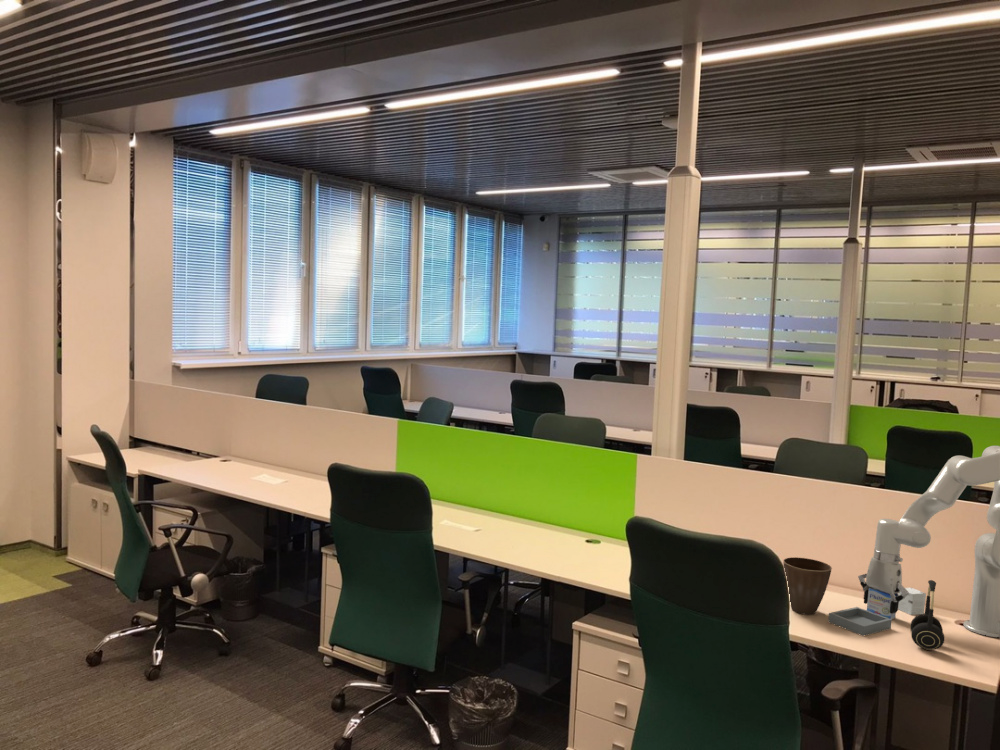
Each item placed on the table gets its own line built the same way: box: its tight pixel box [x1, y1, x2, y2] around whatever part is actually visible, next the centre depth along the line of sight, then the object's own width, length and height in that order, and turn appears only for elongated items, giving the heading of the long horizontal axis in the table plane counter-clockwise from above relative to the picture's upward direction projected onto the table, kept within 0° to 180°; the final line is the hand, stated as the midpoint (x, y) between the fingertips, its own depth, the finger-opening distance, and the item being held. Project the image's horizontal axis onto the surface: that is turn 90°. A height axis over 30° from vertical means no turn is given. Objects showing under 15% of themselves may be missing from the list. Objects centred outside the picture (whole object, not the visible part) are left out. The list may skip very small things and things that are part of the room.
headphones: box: [909, 579, 946, 651], centre depth 229 cm, size 9×15×20 cm, turn 154°
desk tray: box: [827, 606, 893, 637], centre depth 243 cm, size 12×15×3 cm
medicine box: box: [866, 587, 897, 620], centre depth 254 cm, size 8×4×9 cm, turn 43°
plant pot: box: [782, 556, 833, 616], centre depth 253 cm, size 15×15×16 cm
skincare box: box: [898, 587, 927, 616], centre depth 261 cm, size 6×6×7 cm
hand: (879, 607), depth 254 cm, fingers closed on medicine box, 8 cm apart
